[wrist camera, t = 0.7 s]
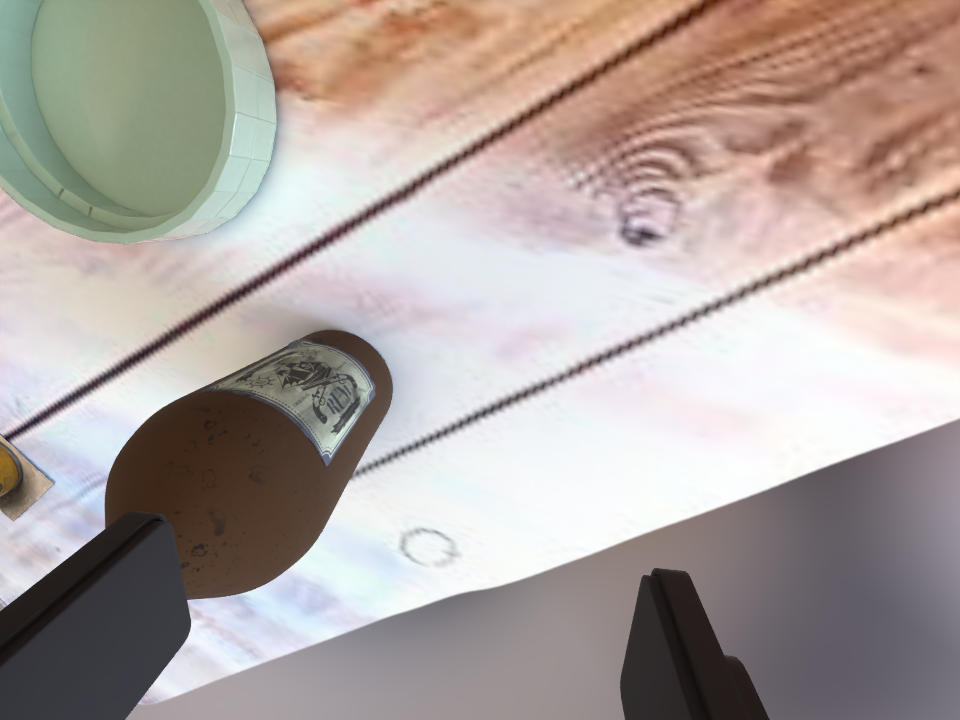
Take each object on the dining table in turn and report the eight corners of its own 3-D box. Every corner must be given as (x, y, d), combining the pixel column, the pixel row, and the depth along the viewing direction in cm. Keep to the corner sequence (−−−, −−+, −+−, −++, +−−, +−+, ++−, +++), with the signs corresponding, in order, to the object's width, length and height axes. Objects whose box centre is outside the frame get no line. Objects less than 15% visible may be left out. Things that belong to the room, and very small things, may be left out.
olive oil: (363, 461, 41) (150, 803, 18) (257, 398, 40) (-119, 671, 17) (424, 368, 38) (261, 634, 15) (310, 296, 37) (-66, 457, 14)
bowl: (114, -152, 29) (25, -228, 24) (336, 109, 33) (300, 91, 28) (-29, 86, 34) (-128, 65, 29) (175, 288, 38) (119, 302, 33)
